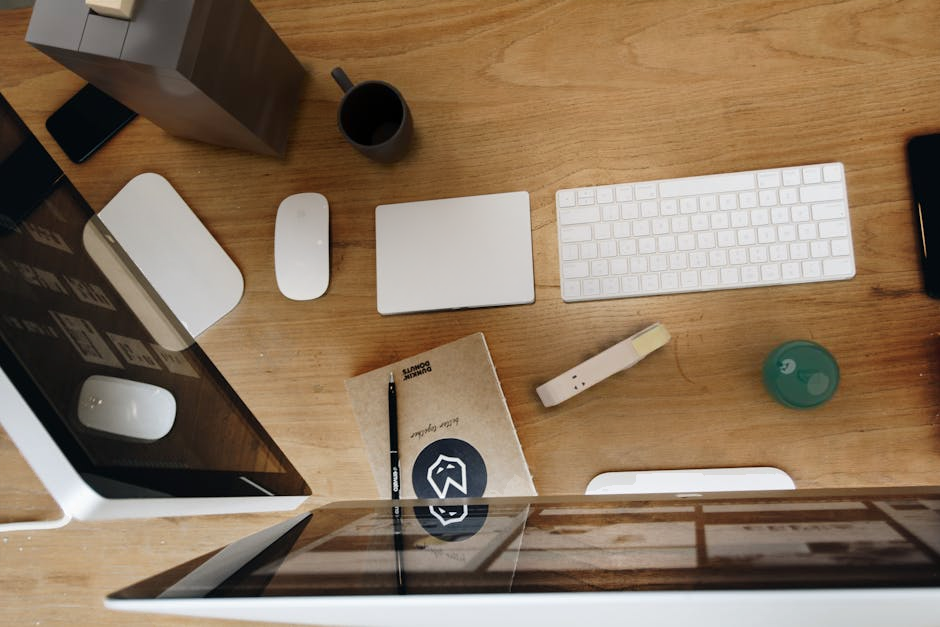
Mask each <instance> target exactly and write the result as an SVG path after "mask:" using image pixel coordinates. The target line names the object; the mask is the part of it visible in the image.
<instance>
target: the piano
mask: <svg viewBox="0 0 940 627" xmlns="http://www.w3.org/2000/svg"><path fill="white" fill-rule="evenodd" d="M85 2H86V0H35V3H34V6H33V10H32V13H31V16H30V20H29V24H28V26H27V30H26V34H25V38H24V42H25V43H26V44H28V45H29V46H31V47H32V48H34V49H35V50H38V51H39V52H41V53H42V54H44V55H45V56H47V57H49V58H50V59H52V60H53V61H55V62H56V63H58V65H60V66H62V67H64V68H66V70H69V71H70V72H72V73H73V74H75V75H76V76H78V77H80V78H82V79H83V80H84V81H86V82H88V84H91V85H92V86H94V87H96V88H97V89H99V90H100V91H101V92H102V93H105V94H106V95H108V96H109V97H110V98H112V99H114V100H116V101H117V102H119V103H120V104H121V105H124V106H125V107H127V108H128V109H129V110H131V111H133V112H135V113H136V114H138V115H139V116H141V117H142V118H144V119H146V120H147V121H149V122H150V123H152V125H155V126H156V127H158V128H159V129H161V130H163V131H164V132H166V133H167V134H169V135H170V136H174V137H179V138H183V139H188V140H192V141H198V142H203V143H208V144H212V145H216V146H217V145H218V146H223V147H227V148H232V149H237V150H243V151H246V152H251V153H257V154H262V155H266V156H272V157H276V158H281V159H283V158H284V156H285V153H286V149H287V145H288V141H289V139H290V138H289V137H290V133H291V129H292V127H293V123H294V119H295V113H296V111H297V107H298V104H299V99H300V95H301V91H302V87H303V83H304V79H305V76H306V72H307V69H306V68H305V67H304V66H303V64H302V63H301V62H300V61H299V59H298V58H297V57H296V56H295V54H294V53H293V52H292V50H291V49H290V48H289V47H288V46H287V44H286V43H285V41H283V40H282V38H281V37H280V36H279V34H278V33H277V32H276V31H275V29H273V27H272V26H271V25H270V23H269V22H268V21H267V20H266V18H265V17H264V16H263V14H262V13H261V12H260V11H259V9H258V7H256V6H255V5H254V3H253V2H252V1H251V0H136V4H135V7H134V11H133V14H132V18H131V21H130V20H125V19H119V18H114V17H108V16H103V15H99V14H98V13H97V12H96V11H94V10H93V9H92V8H91V7H89V6H88V5H87V4H86V3H85Z"/></svg>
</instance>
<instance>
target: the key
mask: <svg viewBox="0 0 940 627" xmlns="http://www.w3.org/2000/svg"><path fill="white" fill-rule="evenodd" d="M85 3H86V4H87V5H88V6H89V7H91V8H92V9H93V10H94V11H96V12H97V13H98V14H99V15H103V16H108V17H114V18H119V19H125V20H130V21H131V18H132V14H133V11H134V7H135V4H136V0H86V2H85Z"/></svg>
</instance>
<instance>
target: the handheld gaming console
mask: <svg viewBox="0 0 940 627" xmlns="http://www.w3.org/2000/svg"><path fill="white" fill-rule="evenodd" d="M671 339H672V335H671V334H670V332H669V330H668V328H667V327H666V324H665V323H661V322H655V323H652V324H651V325H649V326H648V327H646V328H644V329H642V330H641V331H639V332H637V333H635V334H633V335H631V336H629V337H628V338H626V339H624V340H622V341H620V342H618V343H616V344H613V345H612V346H610V347H608V348H606V349H605V350H603V351H601V352H599V353H598V354H596V355H594V356H592V357H590V358H589V359H587V360H585V361H583V362H581V363H579V364H578V365H576V366H574V367H571V368H570V369H568V370H567V371H565V372H563V373H560V374H559V375H558V376H556V377H554V378H552V379H550V380H548V381H547V382H546V383H543V384H542V385H540V386H538V387H536V389H535V391H536V393H537V395H538V396H539V398H540V400H541V402H542V404H543V405H544V407H545V408H549V407H553V406H557V405H559V404H561V403H563V402H565V401H567V400H568V399H571V398H572V397H574V396H576V395H578V394H579V393H582V392H583V391H585V390H587V389H589V388H591V387H592V386H595V385H596V384H597V383H600V382H602V381H603V380H605V379H607V378H608V377H610V376H613V375H614V374H617V373H619V372H621V371H625V370H628V369H630V368H631V367H633V366H634V365H636V364H638V362H640V361H641V360H643V359H644V358H645V357H647V356H648V355H650V353H652V352H654V351H655V350H657V349H658V348H661V347H663V346H664V345H666V344H668V343H669V342H671Z"/></svg>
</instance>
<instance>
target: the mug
mask: <svg viewBox="0 0 940 627" xmlns="http://www.w3.org/2000/svg"><path fill="white" fill-rule="evenodd" d="M330 76H331V77H332V79H333V80H334V82H335V83H336V84H337V85H338V87H339V88H340V89H341V91H342V92H343V94H344V95H343V97H342V98H341V100H340V102H339V105H338V108H337V115H336V117H337V118H336V119H337V120H336V121H337V126H338V129H339V132H340V133H341V136H342V138H344V139H345V141H346V142H347V143H348V144H349V145H350V146H351V147H352V148H353V149H354V150H355V151H356V152H357V153H358V154H360V155H361V156H363V157H364V158H366V159H368V160H370V161H371V160H372V161H374V162H378V163H384V164H396V163H399V162H401V161H403V160H404V159H405V158H406V157H407V156H408V155H409V153H410V152H411V149H412V147H413V141H414V135H415V131H414V130H415V128H414V119H413V115H412V112H411V109H410V107H409V105H408V103H407V101H406V99H405V98H404V96H403V94H402V92H400V91H399V89H398V88H397V87H395V86H394V85H393V84H390V83H389V82H386V81H383V80H377V79H370V80H364V81H361V82H359V83H357V84H354V83H353V81H352V80H351V78H350V77H349V76H348V75H347V73H346V72H345V71H344V69H343V68H342V67H340V66H336V67H334V68H333V69H332V70H331V71H330Z"/></svg>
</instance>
